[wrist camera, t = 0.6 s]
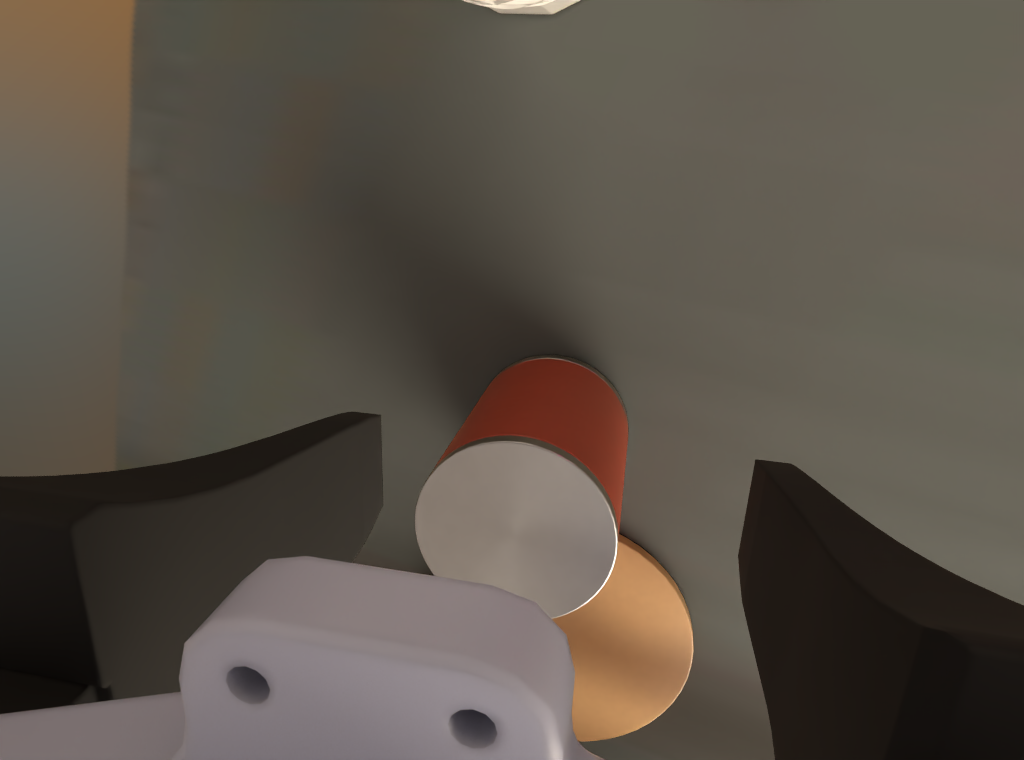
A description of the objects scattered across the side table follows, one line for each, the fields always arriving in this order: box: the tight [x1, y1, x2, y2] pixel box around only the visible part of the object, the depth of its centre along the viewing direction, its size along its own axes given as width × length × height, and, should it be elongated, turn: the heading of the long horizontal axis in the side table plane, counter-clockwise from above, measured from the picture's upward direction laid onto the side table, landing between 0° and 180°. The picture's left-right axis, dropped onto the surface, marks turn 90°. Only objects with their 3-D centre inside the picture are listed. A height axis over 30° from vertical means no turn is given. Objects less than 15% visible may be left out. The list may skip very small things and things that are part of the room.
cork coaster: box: [552, 534, 693, 741], centre depth 26 cm, size 10×10×1 cm
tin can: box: [415, 355, 629, 619], centre depth 21 cm, size 5×5×7 cm
